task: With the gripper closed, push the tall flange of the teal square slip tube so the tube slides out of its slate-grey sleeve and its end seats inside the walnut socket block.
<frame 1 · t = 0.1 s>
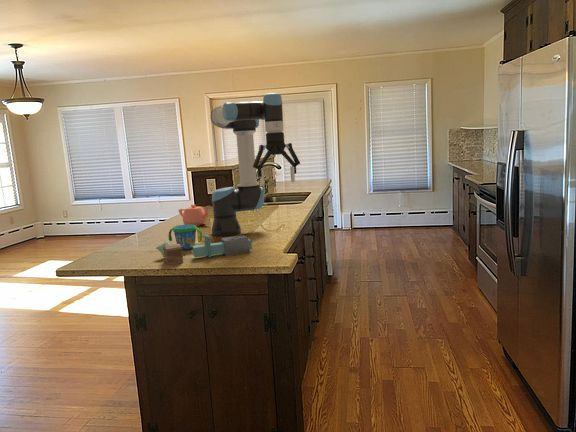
hand: (277, 183, 194), 28 cm above the countertop, fingers open, 13 cm apart
snack cup: (186, 248, 209), on the countertop
teapot: (196, 225, 269), on the countertop
slip tube: (222, 243, 192), point 5 cm above the countertop, slide at 0.0 cm
robot head: (167, 258, 194), on the countertop
sleeve: (235, 252, 195), on the countertop
socket block: (174, 261, 186), on the countertop
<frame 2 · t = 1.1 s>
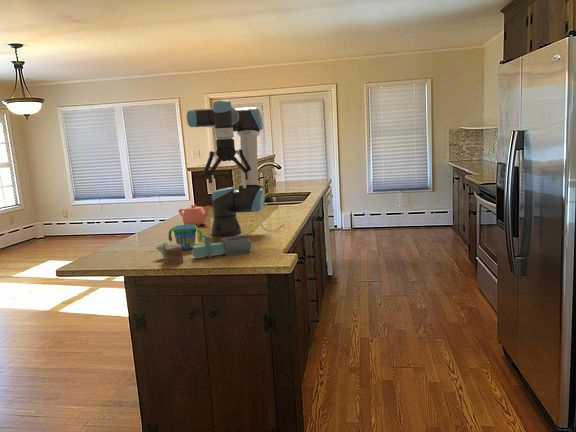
hand: (229, 189, 196), 27 cm above the countertop, fingers open, 13 cm apart
nothing on the countertop moved.
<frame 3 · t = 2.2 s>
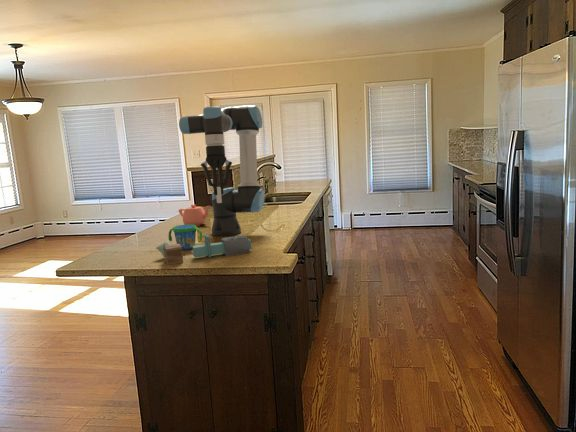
hand: (219, 202, 192), 22 cm above the countertop, fingers closed
nothing on the countertop moved.
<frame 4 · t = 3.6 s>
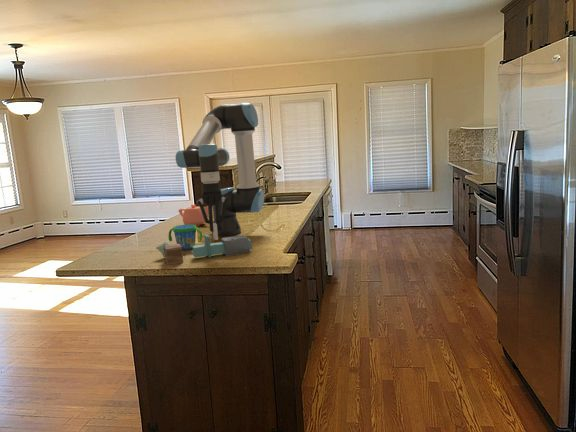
hand: (215, 239, 191), 7 cm above the countertop, fingers closed
nothing on the countertop moved.
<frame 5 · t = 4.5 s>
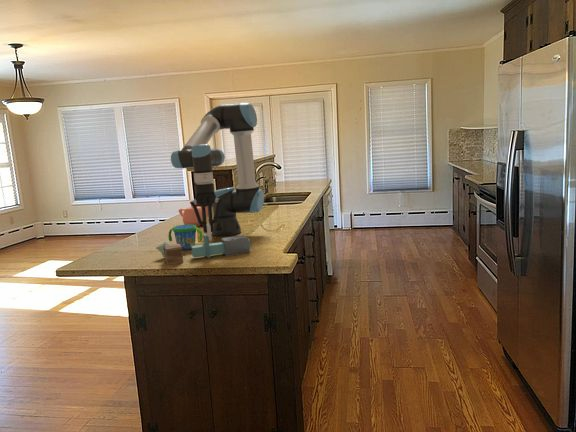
hand: (209, 240, 190), 7 cm above the countertop, fingers closed
slip tube: (221, 244, 192), point 5 cm above the countertop, slide at 0.4 cm, touching gripper
everything else where it was.
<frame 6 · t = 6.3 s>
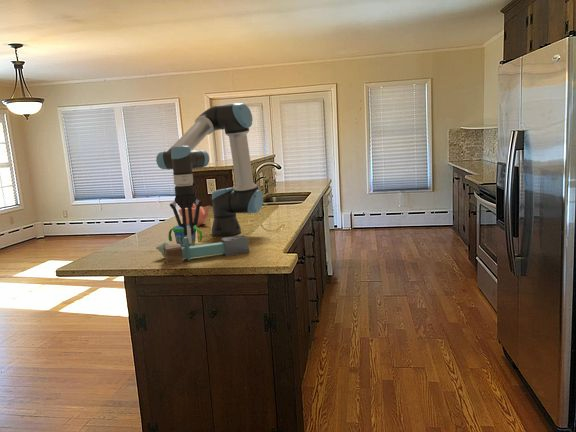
hand: (189, 242, 187), 7 cm above the countertop, fingers closed
slip tube: (201, 246, 189), point 5 cm above the countertop, slide at 8.5 cm, touching gripper
everything else where it was.
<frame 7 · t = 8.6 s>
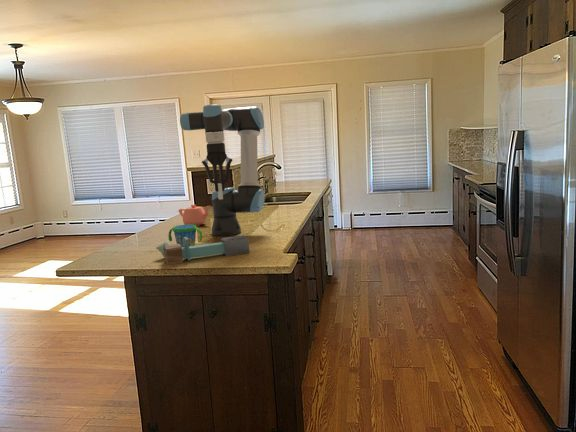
hand: (220, 198, 196), 23 cm above the countertop, fingers closed
slip tube: (201, 246, 189), point 5 cm above the countertop, slide at 8.5 cm
everything else where it was.
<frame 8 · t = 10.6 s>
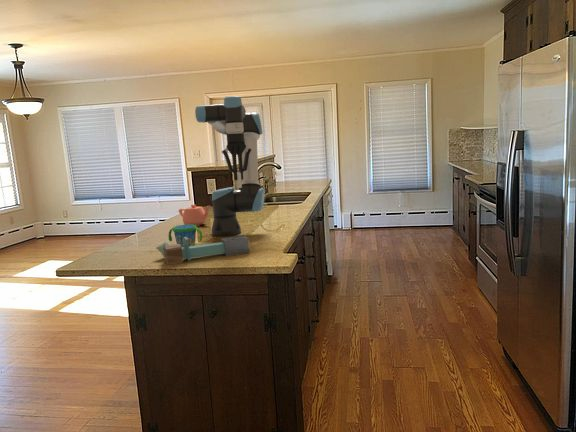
hand: (239, 187, 203), 26 cm above the countertop, fingers closed
nothing on the countertop moved.
at the end: slip tube slide at 8.5 cm; the gripper is holding nothing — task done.
